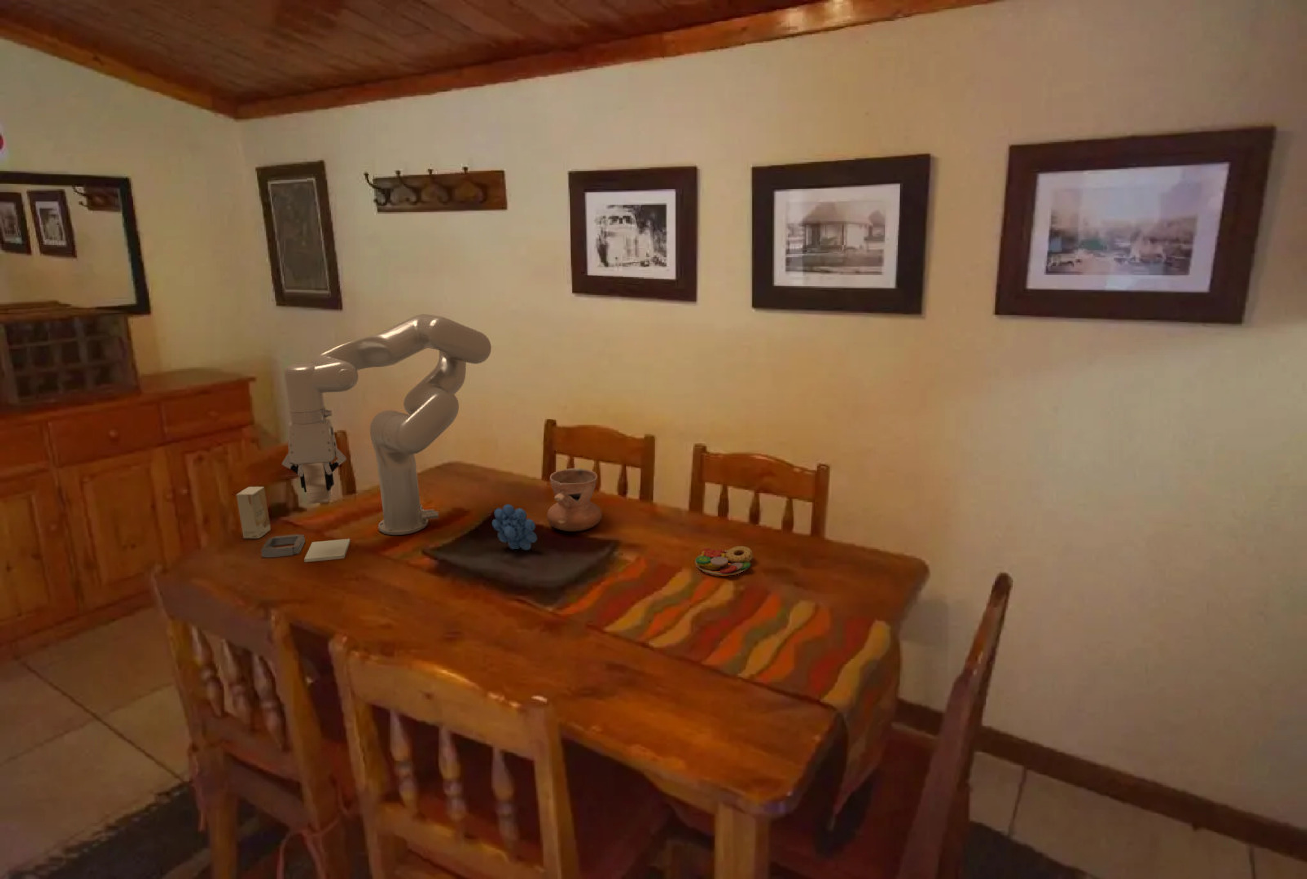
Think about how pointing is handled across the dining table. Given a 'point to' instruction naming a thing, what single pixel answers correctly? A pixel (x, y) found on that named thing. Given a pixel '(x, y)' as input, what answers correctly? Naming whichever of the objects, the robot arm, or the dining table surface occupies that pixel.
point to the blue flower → (514, 527)
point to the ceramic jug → (573, 500)
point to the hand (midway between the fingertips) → (318, 488)
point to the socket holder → (283, 551)
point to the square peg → (316, 483)
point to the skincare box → (253, 512)
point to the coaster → (327, 550)
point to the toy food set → (724, 560)
